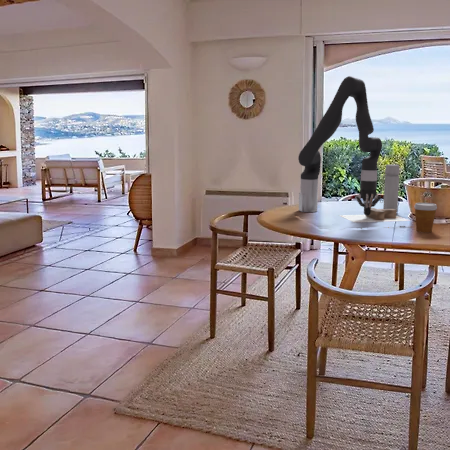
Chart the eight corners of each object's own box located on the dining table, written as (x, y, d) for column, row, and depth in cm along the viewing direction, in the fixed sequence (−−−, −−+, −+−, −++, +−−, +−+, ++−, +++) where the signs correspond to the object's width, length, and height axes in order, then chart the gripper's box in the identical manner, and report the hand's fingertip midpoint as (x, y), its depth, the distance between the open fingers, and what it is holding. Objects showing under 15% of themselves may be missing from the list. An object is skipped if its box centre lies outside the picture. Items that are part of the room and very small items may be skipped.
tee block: (376, 220, 260) (376, 211, 259) (365, 216, 272) (366, 208, 271) (399, 219, 262) (400, 211, 261) (388, 215, 273) (389, 207, 273)
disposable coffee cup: (408, 229, 244) (410, 202, 242) (429, 228, 245) (431, 202, 243) (418, 233, 235) (419, 205, 233) (439, 233, 236) (441, 205, 234)
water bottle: (397, 211, 292) (400, 164, 287) (397, 214, 285) (399, 165, 280) (379, 210, 295) (382, 164, 290) (378, 213, 288) (381, 165, 283)
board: (354, 225, 254) (354, 222, 254) (338, 217, 274) (338, 215, 273) (410, 223, 259) (410, 220, 259) (390, 216, 278) (391, 213, 278)
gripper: (378, 178, 267) (376, 213, 270) (352, 178, 264) (350, 214, 268) (385, 180, 259) (383, 216, 262) (358, 180, 257) (357, 216, 260)
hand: (366, 215), depth 265 cm, fingers closed
